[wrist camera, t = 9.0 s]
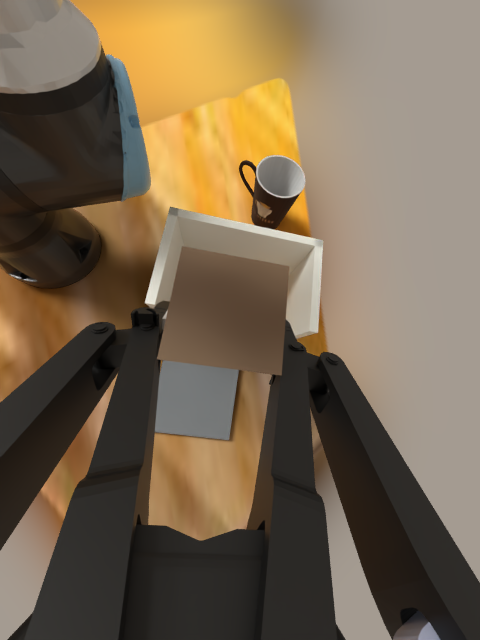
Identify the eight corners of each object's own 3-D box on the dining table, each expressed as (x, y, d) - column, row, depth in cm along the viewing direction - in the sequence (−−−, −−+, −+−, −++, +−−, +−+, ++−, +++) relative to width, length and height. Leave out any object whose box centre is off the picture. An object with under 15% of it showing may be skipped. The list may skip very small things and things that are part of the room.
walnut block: (238, 369, 22) (281, 375, 8) (191, 363, 21) (157, 359, 8) (243, 325, 23) (289, 266, 9) (200, 318, 22) (182, 245, 9)
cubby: (286, 341, 38) (318, 332, 27) (166, 322, 36) (144, 302, 24) (292, 274, 41) (323, 240, 30) (182, 253, 39) (170, 206, 28)
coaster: (148, 429, 32) (147, 431, 31) (166, 348, 35) (165, 348, 34) (228, 438, 33) (228, 440, 33) (239, 359, 36) (240, 359, 36)
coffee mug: (292, 226, 44) (314, 187, 34) (259, 241, 42) (273, 205, 32) (265, 184, 45) (279, 136, 36) (232, 197, 43) (237, 150, 34)
